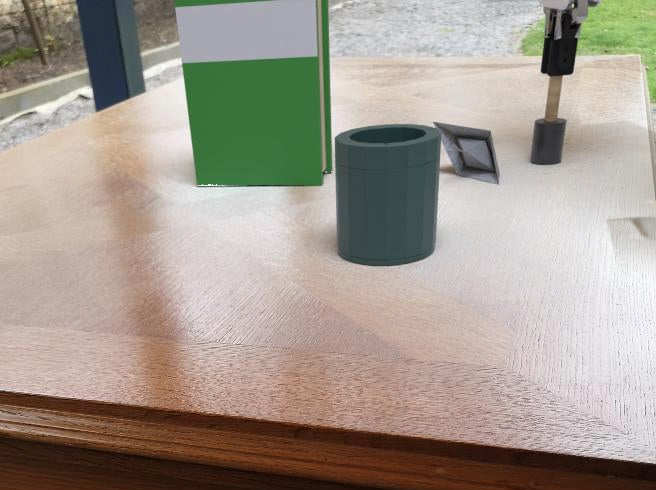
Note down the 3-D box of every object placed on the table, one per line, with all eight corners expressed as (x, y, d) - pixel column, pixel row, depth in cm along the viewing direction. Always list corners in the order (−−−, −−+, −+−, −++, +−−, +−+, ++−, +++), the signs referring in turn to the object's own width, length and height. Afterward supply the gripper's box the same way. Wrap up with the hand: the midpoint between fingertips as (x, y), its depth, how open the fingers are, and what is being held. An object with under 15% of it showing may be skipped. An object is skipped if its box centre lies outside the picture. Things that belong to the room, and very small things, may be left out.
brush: (554, 156, 107) (573, 19, 98) (565, 163, 104) (585, 22, 95) (526, 159, 107) (541, 22, 98) (535, 165, 104) (552, 25, 95)
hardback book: (332, 171, 110) (327, -37, 95) (321, 185, 104) (314, -34, 90) (213, 173, 114) (191, -26, 100) (197, 186, 108) (171, -23, 94)
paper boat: (531, 162, 101) (511, 158, 94) (497, 204, 105) (475, 203, 98) (465, 103, 103) (440, 95, 96) (433, 147, 107) (408, 142, 100)
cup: (423, 230, 86) (427, 120, 79) (444, 260, 77) (451, 140, 71) (332, 238, 85) (329, 129, 79) (344, 269, 77) (342, 150, 71)
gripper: (642, -117, 82) (610, 80, 93) (586, -109, 95) (563, 63, 106) (572, -111, 82) (548, 85, 93) (525, -104, 95) (508, 68, 106)
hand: (556, 72), depth 99 cm, fingers closed on brush
